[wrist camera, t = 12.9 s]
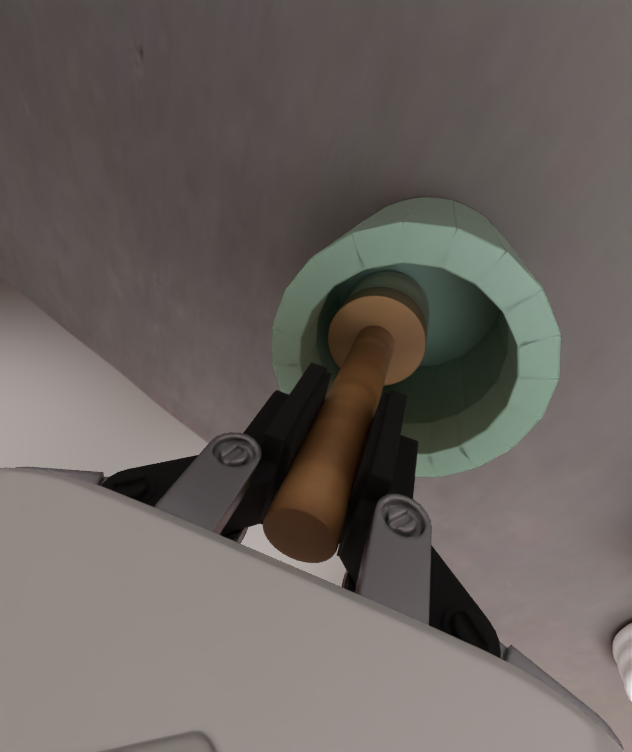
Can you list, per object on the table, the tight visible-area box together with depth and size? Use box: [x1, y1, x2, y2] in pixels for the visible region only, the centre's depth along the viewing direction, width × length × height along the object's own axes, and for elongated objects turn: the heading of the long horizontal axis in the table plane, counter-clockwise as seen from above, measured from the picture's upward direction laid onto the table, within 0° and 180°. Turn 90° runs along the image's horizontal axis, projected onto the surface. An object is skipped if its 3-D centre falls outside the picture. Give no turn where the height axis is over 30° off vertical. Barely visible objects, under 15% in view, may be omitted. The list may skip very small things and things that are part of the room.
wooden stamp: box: [263, 271, 430, 563], centre depth 15 cm, size 5×5×16 cm
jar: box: [272, 197, 561, 477], centre depth 18 cm, size 10×10×10 cm
